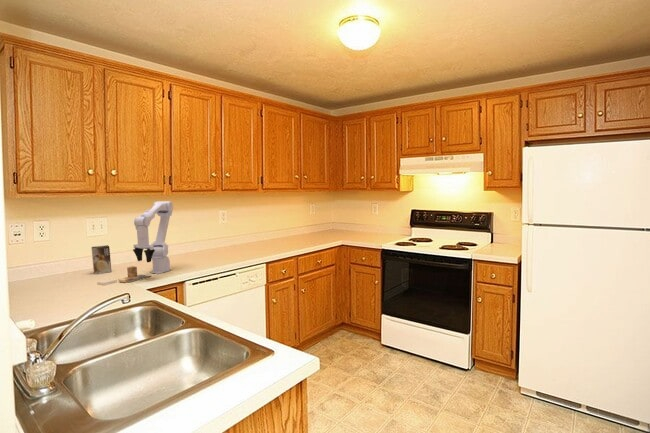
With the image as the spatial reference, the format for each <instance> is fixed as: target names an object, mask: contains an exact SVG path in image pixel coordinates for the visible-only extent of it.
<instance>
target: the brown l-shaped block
mask: <svg viewBox="0 0 650 433" xmlns="http://www.w3.org/2000/svg"><path fill="white" fill-rule="evenodd" d="M126 270H127V277H123V278H119V279H118V282H119V283H128V282H127V281H131V280H134V279H138V278H139V277H138V276H137V275H138V267H137V266H133V265H131V266H128V267H127V268H126Z"/></svg>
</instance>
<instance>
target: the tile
mask: <svg viewBox="0 0 650 433" xmlns="http://www.w3.org/2000/svg"><path fill="white" fill-rule="evenodd" d="M115 283H118V282H117V279H114V278H107V279H103V280H99V281H97V282H96V284H97V285H100V286H108V285H111V284H115Z"/></svg>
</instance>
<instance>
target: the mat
mask: <svg viewBox="0 0 650 433" xmlns="http://www.w3.org/2000/svg"><path fill="white" fill-rule="evenodd" d="M137 276H138V277H139V278H138V279H134V280H131V281H127V282H126V283H134V282H137V280H138V281H140V279H141V280H144V279H143V278H145V279H148V278H152V275H146V274H137ZM147 277H148V278H147Z"/></svg>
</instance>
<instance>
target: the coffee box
mask: <svg viewBox="0 0 650 433" xmlns="http://www.w3.org/2000/svg"><path fill="white" fill-rule="evenodd" d="M91 258H92V267H93V268H92V269H93V270H92V271H93V274H94V275H98V274H99V275H100V274H106V273H112V261H111V250H110V246H109V244H108V245H96V246H91Z"/></svg>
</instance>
